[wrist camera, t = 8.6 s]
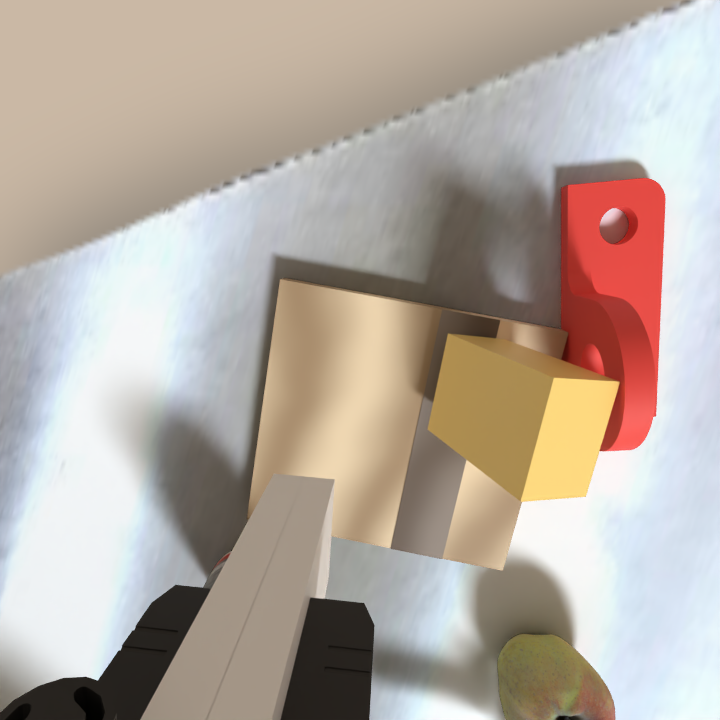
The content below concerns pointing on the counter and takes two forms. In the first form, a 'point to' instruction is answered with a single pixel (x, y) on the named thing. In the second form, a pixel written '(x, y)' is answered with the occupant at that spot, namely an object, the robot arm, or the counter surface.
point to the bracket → (615, 297)
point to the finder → (521, 416)
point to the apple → (550, 682)
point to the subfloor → (382, 420)
